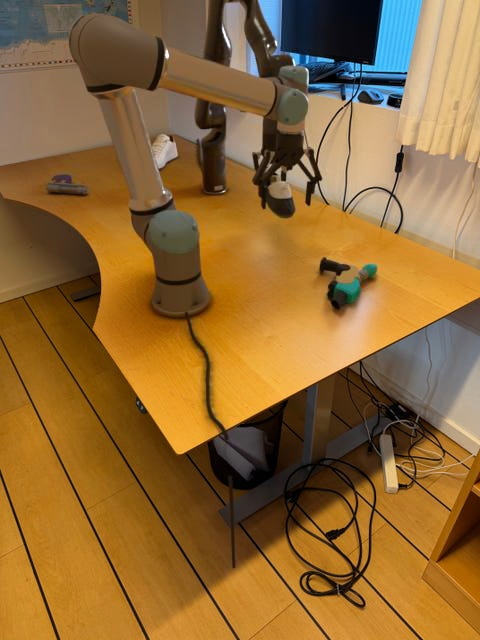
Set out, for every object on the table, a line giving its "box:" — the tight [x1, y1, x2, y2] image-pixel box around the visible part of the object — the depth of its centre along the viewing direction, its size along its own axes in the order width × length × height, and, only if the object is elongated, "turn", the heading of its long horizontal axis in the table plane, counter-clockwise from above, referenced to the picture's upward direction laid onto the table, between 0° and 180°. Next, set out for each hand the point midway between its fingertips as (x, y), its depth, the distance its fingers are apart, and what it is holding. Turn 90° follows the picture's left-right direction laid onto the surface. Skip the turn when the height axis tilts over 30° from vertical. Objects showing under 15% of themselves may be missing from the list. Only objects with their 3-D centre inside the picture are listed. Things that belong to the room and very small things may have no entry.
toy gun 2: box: [318, 256, 378, 312], centre depth 129 cm, size 4×26×15 cm
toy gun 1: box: [45, 173, 89, 195], centre depth 192 cm, size 4×19×15 cm
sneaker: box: [152, 133, 179, 170], centre depth 214 cm, size 10×29×12 cm, turn 163°
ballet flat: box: [265, 172, 296, 219], centre depth 147 cm, size 8×24×8 cm, turn 11°
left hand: (285, 205), depth 141 cm, fingers open, 13 cm apart
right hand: (273, 183), depth 154 cm, fingers closed on ballet flat, 5 cm apart
